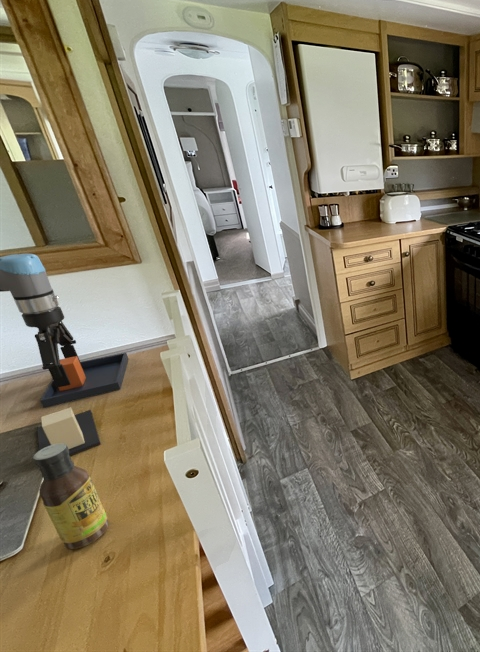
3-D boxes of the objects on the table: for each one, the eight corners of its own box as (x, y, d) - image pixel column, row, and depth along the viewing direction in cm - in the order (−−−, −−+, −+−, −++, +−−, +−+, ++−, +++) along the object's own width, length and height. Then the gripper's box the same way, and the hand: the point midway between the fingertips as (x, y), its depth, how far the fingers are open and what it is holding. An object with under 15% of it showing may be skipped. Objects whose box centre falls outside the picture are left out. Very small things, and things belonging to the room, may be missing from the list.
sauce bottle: (97, 547, 69) (55, 463, 61) (56, 554, 67) (8, 470, 60) (118, 516, 74) (83, 436, 67) (81, 522, 73) (40, 441, 66)
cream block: (82, 433, 94) (70, 407, 91) (84, 443, 91) (72, 416, 88) (54, 443, 91) (40, 417, 88) (55, 454, 88) (41, 426, 85)
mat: (41, 467, 85) (40, 464, 85) (38, 430, 96) (37, 427, 96) (100, 444, 92) (99, 441, 92) (91, 411, 103) (90, 409, 103)
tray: (63, 374, 120) (59, 366, 118) (129, 360, 128) (126, 352, 127) (44, 409, 104) (39, 400, 102) (121, 391, 112) (117, 382, 111)
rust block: (64, 383, 114) (53, 360, 111) (86, 378, 117) (77, 355, 114) (59, 391, 110) (49, 368, 107) (83, 386, 113) (73, 363, 110)
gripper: (47, 322, 97) (77, 391, 105) (69, 293, 116) (94, 353, 124) (4, 329, 93) (39, 400, 101) (35, 298, 112) (62, 360, 120)
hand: (69, 374), depth 112 cm, fingers open, 13 cm apart
